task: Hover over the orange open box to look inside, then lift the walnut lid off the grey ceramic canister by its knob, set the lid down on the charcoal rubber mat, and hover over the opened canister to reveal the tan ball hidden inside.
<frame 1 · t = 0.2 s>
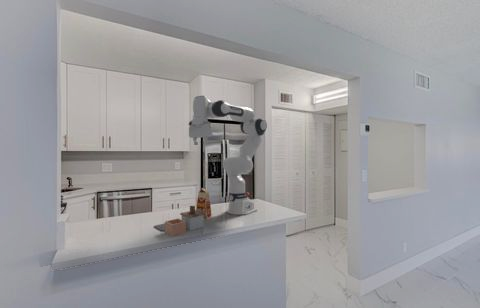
hand: (200, 144, 146), 48 cm above the counter, fingers open, 8 cm apart
mat: (167, 226, 137), on the counter
lid: (192, 214, 137), point 7 cm above the counter, touching canister
orange open box: (175, 232, 128), on the counter
ball: (191, 222, 137), point 2 cm above the counter, touching canister
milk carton: (203, 217, 156), on the counter
canister: (192, 226, 137), on the counter
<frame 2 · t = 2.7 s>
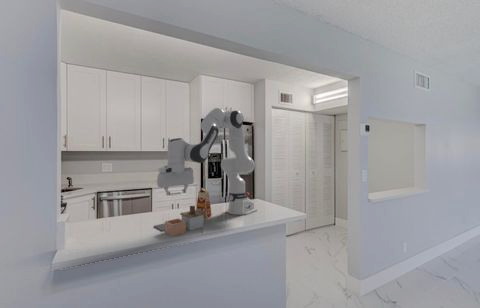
hand: (176, 193, 128), 21 cm above the counter, fingers open, 8 cm apart
nothing on the counter moved.
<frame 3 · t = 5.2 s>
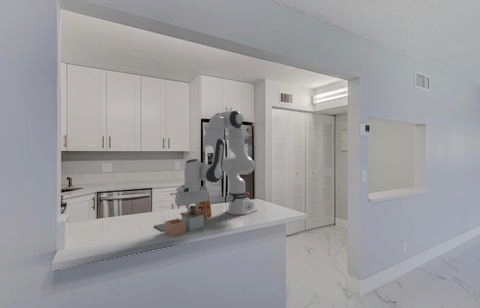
hand: (192, 211, 137), 9 cm above the counter, fingers closed on lid, 3 cm apart
lid: (192, 214, 137), point 7 cm above the counter, touching canister, gripper
everything else where it was.
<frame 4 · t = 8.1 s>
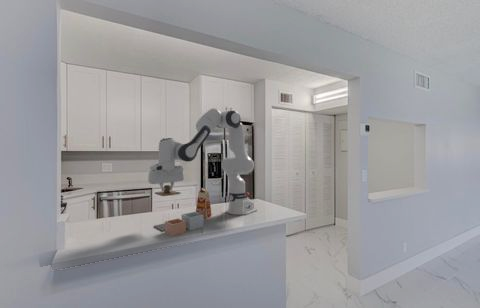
hand: (166, 190, 136), 21 cm above the counter, fingers closed on lid, 3 cm apart
lid: (167, 193, 136), point 19 cm above the counter, touching gripper
everything else where it was.
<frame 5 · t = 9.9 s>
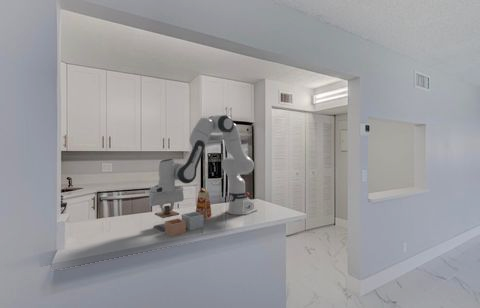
hand: (166, 211, 136), 9 cm above the counter, fingers closed on lid, 3 cm apart
lid: (167, 214, 136), point 7 cm above the counter, touching gripper
everything else where it was.
when the fingers open (3 cm above the counter, at t = 11.5 s): lid stays where it is, resting on mat.
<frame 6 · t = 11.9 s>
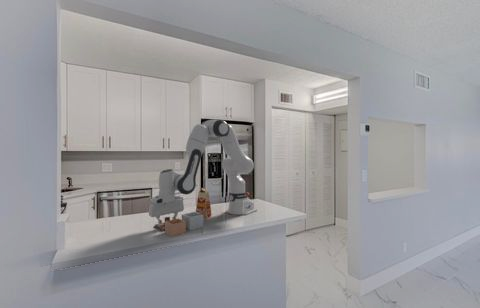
hand: (167, 221, 137), 3 cm above the counter, fingers open, 7 cm apart
lid: (167, 225, 137), point 1 cm above the counter, touching mat
everything else where it was.
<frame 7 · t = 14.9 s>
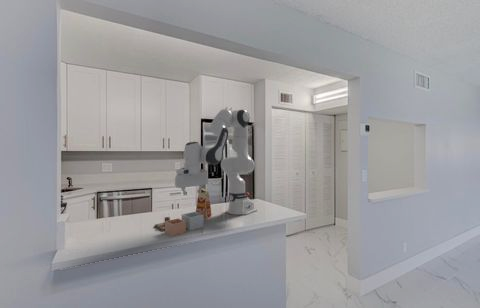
hand: (192, 193, 137), 19 cm above the counter, fingers open, 8 cm apart
nothing on the counter moved.
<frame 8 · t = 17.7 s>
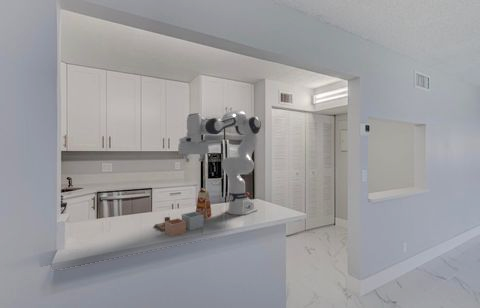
hand: (194, 161, 148), 37 cm above the counter, fingers open, 8 cm apart
nothing on the counter moved.
at the end: lid inside the target area on the mat (0.1 cm from its centre), point 0.6 cm above the mat's base; lid tilted 0°; lid touching mat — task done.
